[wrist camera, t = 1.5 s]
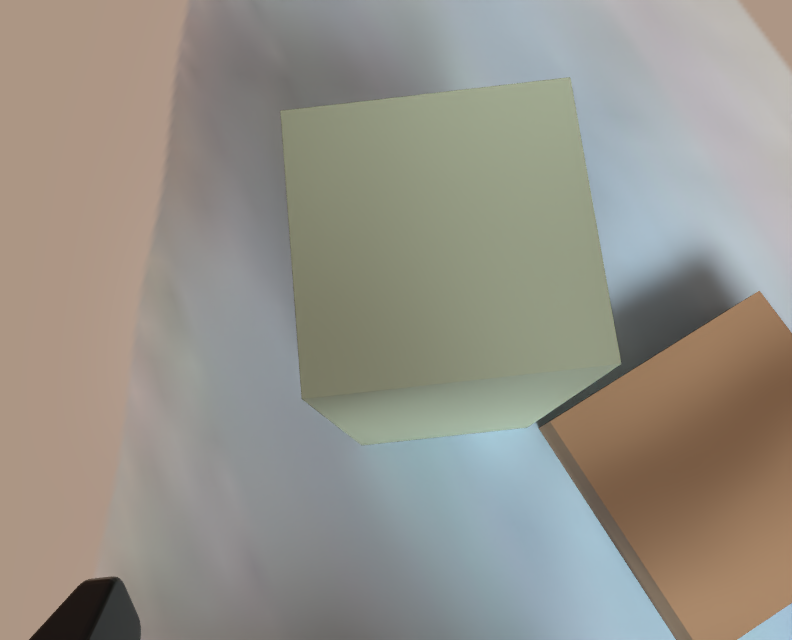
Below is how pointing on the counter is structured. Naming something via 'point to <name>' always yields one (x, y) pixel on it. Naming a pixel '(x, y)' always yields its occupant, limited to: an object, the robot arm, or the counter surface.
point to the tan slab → (696, 471)
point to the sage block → (445, 261)
